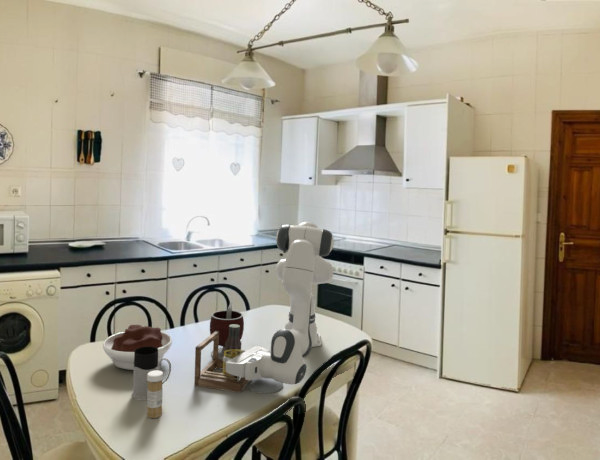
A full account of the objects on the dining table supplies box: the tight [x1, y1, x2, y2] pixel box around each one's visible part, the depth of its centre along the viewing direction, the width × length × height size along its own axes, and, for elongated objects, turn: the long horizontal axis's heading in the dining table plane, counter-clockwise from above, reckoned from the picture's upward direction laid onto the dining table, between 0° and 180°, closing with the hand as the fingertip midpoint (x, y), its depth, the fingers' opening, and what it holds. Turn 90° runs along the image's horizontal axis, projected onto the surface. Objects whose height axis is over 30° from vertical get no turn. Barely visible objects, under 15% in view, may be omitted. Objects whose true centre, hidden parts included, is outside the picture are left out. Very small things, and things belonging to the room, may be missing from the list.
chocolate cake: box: [102, 324, 173, 371], centre depth 175 cm, size 25×25×15 cm
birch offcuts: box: [202, 371, 239, 382], centre depth 163 cm, size 4×12×4 cm, turn 78°
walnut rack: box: [193, 331, 250, 393], centre depth 167 cm, size 18×17×14 cm
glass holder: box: [131, 347, 172, 401], centre depth 151 cm, size 9×14×15 cm, turn 69°
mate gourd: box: [209, 302, 245, 360], centre depth 190 cm, size 16×14×20 cm
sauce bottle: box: [222, 324, 242, 379], centre depth 168 cm, size 7×6×20 cm
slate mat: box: [248, 377, 284, 394], centre depth 164 cm, size 12×12×1 cm
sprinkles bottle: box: [146, 369, 164, 419], centre depth 139 cm, size 5×5×14 cm
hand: (230, 355), depth 168 cm, fingers closed on sauce bottle, 6 cm apart
